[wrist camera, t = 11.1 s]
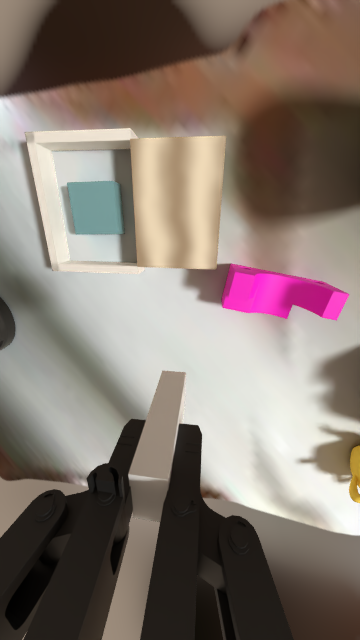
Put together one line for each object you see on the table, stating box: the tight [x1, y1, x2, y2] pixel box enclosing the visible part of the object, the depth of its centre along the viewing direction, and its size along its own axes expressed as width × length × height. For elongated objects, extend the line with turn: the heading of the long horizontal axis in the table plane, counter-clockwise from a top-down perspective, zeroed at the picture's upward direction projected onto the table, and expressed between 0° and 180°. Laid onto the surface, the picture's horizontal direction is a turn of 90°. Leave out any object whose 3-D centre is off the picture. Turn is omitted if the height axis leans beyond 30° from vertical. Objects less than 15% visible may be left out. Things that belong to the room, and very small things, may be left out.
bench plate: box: [130, 136, 226, 269], centre depth 33 cm, size 12×16×4 cm
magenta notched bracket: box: [221, 264, 349, 320], centre depth 34 cm, size 15×6×8 cm, turn 80°
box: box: [25, 128, 145, 274], centre depth 34 cm, size 15×18×4 cm
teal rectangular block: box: [67, 181, 125, 234], centre depth 35 cm, size 7×7×3 cm
